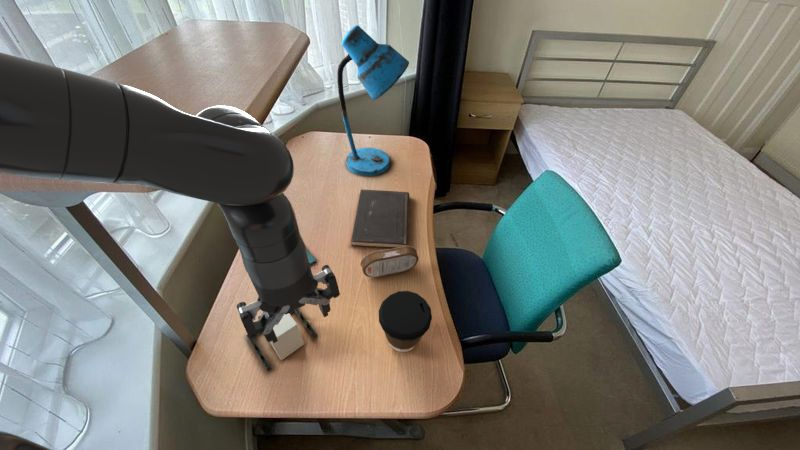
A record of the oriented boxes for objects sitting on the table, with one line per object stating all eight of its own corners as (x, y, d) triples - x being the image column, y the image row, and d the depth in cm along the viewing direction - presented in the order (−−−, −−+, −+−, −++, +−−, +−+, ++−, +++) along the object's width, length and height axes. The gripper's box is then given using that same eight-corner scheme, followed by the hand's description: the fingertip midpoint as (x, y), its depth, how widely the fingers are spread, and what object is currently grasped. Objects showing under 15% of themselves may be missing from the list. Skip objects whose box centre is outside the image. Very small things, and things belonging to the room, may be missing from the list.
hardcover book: (351, 246, 92) (350, 241, 90) (361, 194, 108) (360, 189, 107) (407, 249, 92) (408, 244, 91) (408, 197, 108) (409, 191, 107)
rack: (267, 371, 67) (260, 359, 63) (247, 337, 72) (239, 324, 68) (317, 336, 73) (313, 323, 69) (295, 306, 78) (290, 292, 74)
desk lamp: (400, 179, 115) (409, 38, 84) (339, 173, 116) (325, 32, 84) (404, 154, 127) (412, 22, 95) (348, 149, 127) (338, 16, 96)
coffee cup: (417, 312, 78) (422, 283, 70) (433, 356, 71) (440, 329, 62) (373, 322, 76) (372, 294, 67) (384, 369, 68) (385, 343, 60)
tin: (414, 262, 89) (417, 241, 83) (418, 271, 87) (421, 250, 81) (360, 273, 86) (359, 252, 80) (363, 282, 84) (362, 262, 78)
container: (281, 360, 69) (271, 341, 62) (269, 341, 72) (258, 321, 65) (304, 344, 71) (297, 324, 65) (292, 326, 74) (283, 305, 68)
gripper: (227, 311, 37) (263, 367, 49) (341, 260, 43) (349, 321, 54) (213, 266, 41) (249, 327, 53) (318, 226, 47) (330, 289, 59)
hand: (300, 324), depth 54 cm, fingers open, 8 cm apart
